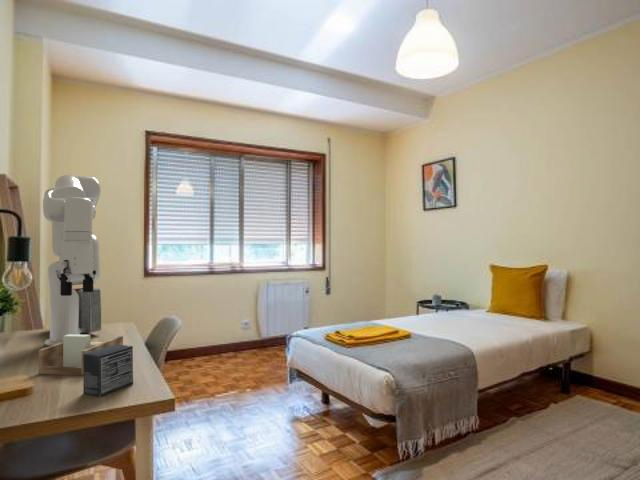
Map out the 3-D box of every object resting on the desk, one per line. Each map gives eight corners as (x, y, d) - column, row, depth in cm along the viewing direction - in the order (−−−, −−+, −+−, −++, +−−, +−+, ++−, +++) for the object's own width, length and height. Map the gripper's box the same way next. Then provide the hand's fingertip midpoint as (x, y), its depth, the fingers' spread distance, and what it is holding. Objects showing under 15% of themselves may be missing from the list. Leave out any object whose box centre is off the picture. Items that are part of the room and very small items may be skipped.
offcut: (87, 349, 136) (87, 342, 136) (107, 349, 135) (107, 342, 135) (80, 352, 132) (80, 344, 132) (101, 352, 132) (101, 344, 132)
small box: (116, 381, 113) (117, 343, 113) (134, 384, 110) (134, 345, 110) (81, 394, 103) (82, 352, 103) (99, 397, 101) (100, 355, 101)
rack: (82, 355, 138) (82, 335, 138) (122, 356, 137) (123, 336, 137) (38, 373, 119) (38, 349, 119) (85, 375, 118) (85, 351, 118)
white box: (68, 366, 126) (69, 334, 126) (90, 367, 126) (90, 334, 126) (63, 368, 124) (63, 336, 124) (84, 369, 123) (85, 336, 123)
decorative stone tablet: (102, 286, 172) (64, 288, 187) (87, 288, 166) (49, 290, 181) (104, 332, 170) (66, 331, 185) (89, 335, 165) (50, 333, 180)
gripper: (85, 238, 134) (84, 290, 133) (45, 237, 116) (44, 297, 116) (106, 238, 133) (106, 290, 133) (69, 237, 116) (69, 297, 115)
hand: (77, 293), depth 124 cm, fingers open, 9 cm apart
